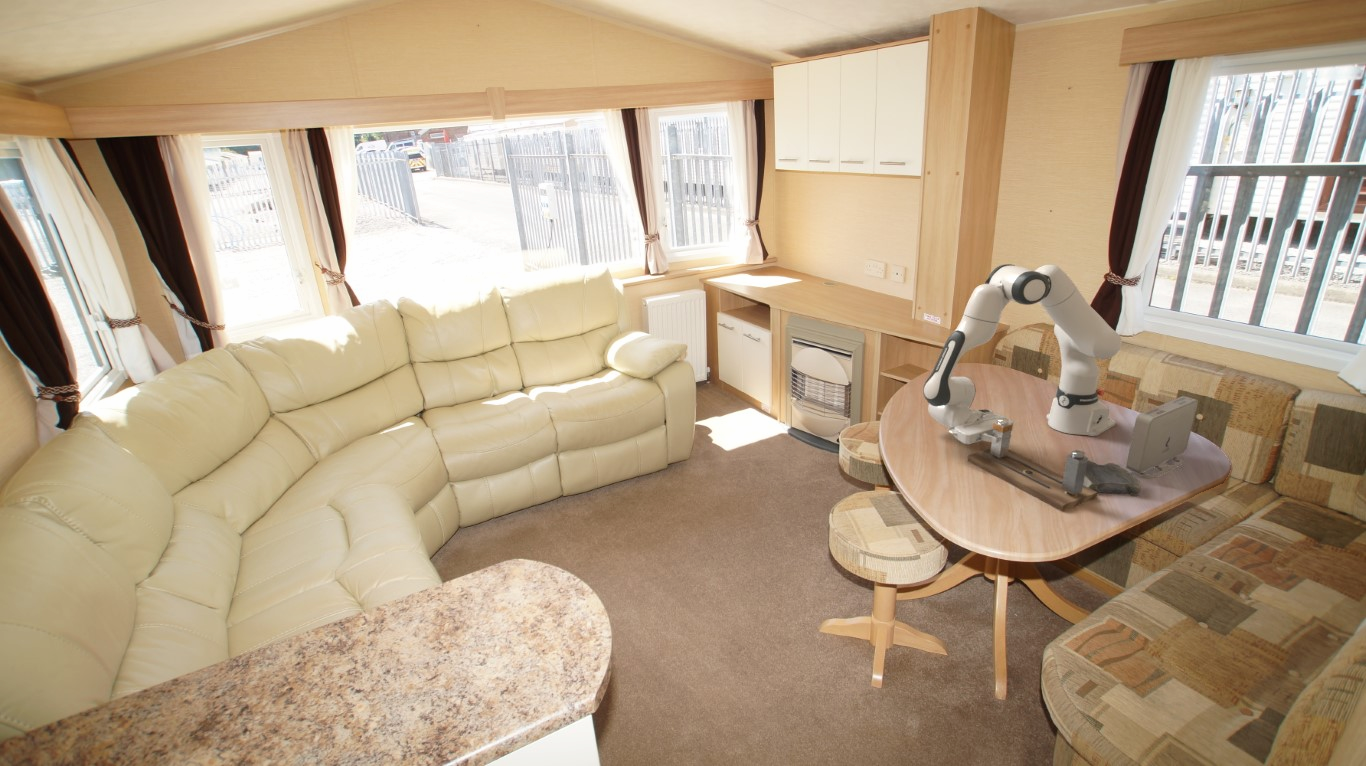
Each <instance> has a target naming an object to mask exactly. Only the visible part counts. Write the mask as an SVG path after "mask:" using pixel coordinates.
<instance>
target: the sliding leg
mask: <svg viewBox="0 0 1366 766" xmlns="http://www.w3.org/2000/svg"><path fill="white" fill-rule="evenodd" d="M1007 418H1008V417H1006V418H999V419H998V421H997V422H994V423H993V435H992V436H997V437H999V442H998V443H993V442H991V446H990V448H991V452H990V453H991V454H993V455H995V456H997V457H999V458H1001V457H1004V456H1007V455H1008V451H1009V450H1010V449H1009V448H1010V443H1011V439H1010V436H1011V437H1012V431H1013V430H1012V424H1011V423H1009V420H1008V419H1009V418H1008V419H1007ZM1011 430H1012V431H1011Z"/></svg>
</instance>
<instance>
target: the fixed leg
mask: <svg viewBox="0 0 1366 766" xmlns="http://www.w3.org/2000/svg"><path fill="white" fill-rule="evenodd" d="M1065 460H1066V461H1065V464H1064V465H1065V466H1064V471H1063V476H1064V477H1063V482H1062V488H1061V489H1062V490H1064V491H1066V492H1068V493H1069V494H1072V495H1074V494H1077V493H1080V492H1082V488H1083V483H1084V477H1085V472H1086V467H1087V461H1088V460H1089V457H1088V456H1085V452H1084V451H1082V450H1077V449H1076V450H1074V449H1073V450H1072V451H1071V453H1070V454H1067V455H1066V459H1065Z"/></svg>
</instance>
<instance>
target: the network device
mask: <svg viewBox="0 0 1366 766" xmlns="http://www.w3.org/2000/svg"><path fill="white" fill-rule="evenodd" d="M1198 404H1199V400H1198V399H1195V398H1191V397H1188V396H1184V395H1182V396H1179V397H1177V398H1175V399H1173V400H1170V401H1168V402H1165V403H1163V404H1160V405H1158V406H1156V407H1153V408H1151V409H1149V410H1146V411H1143V412H1141V413H1139V414H1138V415H1137V416H1136V419H1135V422H1134V427H1133V430H1132V431H1133V432H1132V437H1131V441H1130V445H1129V450H1128V455H1127V459H1126V464H1125V467H1126V468H1125V469H1126V470H1127V471H1128V470H1129V471H1128V472H1130V471H1131V472H1130V473H1133V474H1136V475H1138V476H1140V475H1141V476H1140V477H1144V478H1147V477H1148V479H1156V478H1159V477H1161V476H1162V474H1163V475H1165V474H1166V472H1167V473H1169V472H1171V471H1173V470H1174V469H1173V468H1175V467H1177V466H1179V467H1180V465H1181V464H1182V465H1183V464H1184V461H1183V460H1184V459H1183V460H1182V459H1181V458H1179V457H1177V456H1180V455H1181V454H1183V453H1185V452H1186V450H1187V447H1188V444H1189V440H1190V436H1191V432H1192V429H1193V424H1194V421H1195V416H1196V412H1197V407H1198ZM1173 459H1175V460H1174V461H1176V460H1177V461H1176V463H1174V464H1172V465H1166V464H1165V462H1167V461H1169V460H1173ZM1178 461H1179V462H1178ZM1182 465H1181V466H1182ZM1154 467H1155V468H1154ZM1153 468H1154V469H1156V468H1157V470H1159V469H1160V470H1159V471H1157V472H1156V473H1153V474H1148V473H1145V472H1147V471H1149V470H1151V469H1153ZM1177 468H1178V467H1177ZM1172 469H1173V470H1172ZM1175 469H1176V468H1175ZM1170 470H1171V471H1170ZM1168 471H1169V472H1168ZM1164 473H1165V474H1164ZM1160 475H1161V476H1160ZM1158 476H1159V477H1158Z"/></svg>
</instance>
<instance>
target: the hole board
mask: <svg viewBox="0 0 1366 766" xmlns="http://www.w3.org/2000/svg"><path fill="white" fill-rule="evenodd" d="M990 452H991V447H990V448H988V449H984V450H980V451H978V452H975V453H971V454H968V455H967V462H969V463H971V464H973V465H975V466H976V467H978V468H981V469H982V470H983V471H986V472H988V473H990V474H991V475H993V476H996V477H997V478H999V479H1001V480H1003V482H1004V481H1005V482H1006V483H1008V484H1010V485H1012V486H1014V487H1015V488H1017V489H1019V490H1022V491H1023V492H1025V493H1028V494H1029V495H1031V497H1032V496H1033V497H1035V498H1036V499H1038V500H1040V501H1042V502H1043V503H1046V504H1047V505H1049V506H1051V507H1053V508H1055V509H1057V510H1058V511H1060V512H1064V511H1067V510H1070V509H1072V508H1074V507H1078V506H1081V505H1083V504H1086V503H1087V502H1091V501H1093V500H1096V499H1097V498H1098V492H1096V491H1094V490H1092V489H1090V488H1088V487H1086V486H1084V485H1083V488H1082V492H1080V493H1077V494H1074V495H1072V494H1069V493H1068V492H1066V491H1064V490H1062V489H1061V488H1062V482H1063V477H1064V474H1061V473H1058V472H1056V471H1055V470H1053V469H1050V468H1048V467H1046V466H1044V465H1041V464H1040V463H1038V462H1036V461H1033V460H1031V459H1029V458H1027V457H1025V456H1023V455H1021V454H1019V453H1017V452H1015V451H1013V450H1010V449H1009V451H1008V455H1007V456H1004V457H1001V458H999V457H997V456H995V455H993V454H991V453H990Z"/></svg>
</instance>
